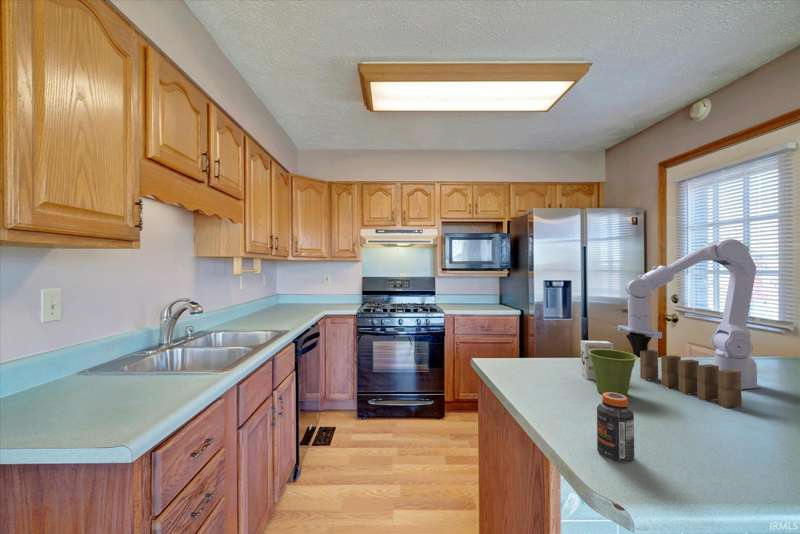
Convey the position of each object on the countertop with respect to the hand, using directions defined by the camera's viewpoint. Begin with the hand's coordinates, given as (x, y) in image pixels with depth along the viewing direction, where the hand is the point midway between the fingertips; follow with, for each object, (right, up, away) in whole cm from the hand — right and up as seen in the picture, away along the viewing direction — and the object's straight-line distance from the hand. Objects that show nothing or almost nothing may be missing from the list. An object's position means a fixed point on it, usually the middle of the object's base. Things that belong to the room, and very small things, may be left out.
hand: (638, 356), depth 111 cm
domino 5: (+5, -6, -25) cm, 26 cm away
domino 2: (+2, -6, -11) cm, 12 cm away
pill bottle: (-39, -6, -48) cm, 62 cm away
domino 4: (+4, -6, -20) cm, 22 cm away
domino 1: (+1, -6, -4) cm, 7 cm away
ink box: (-15, -7, -2) cm, 16 cm away
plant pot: (-19, -6, -16) cm, 26 cm away
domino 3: (+3, -6, -15) cm, 17 cm away
